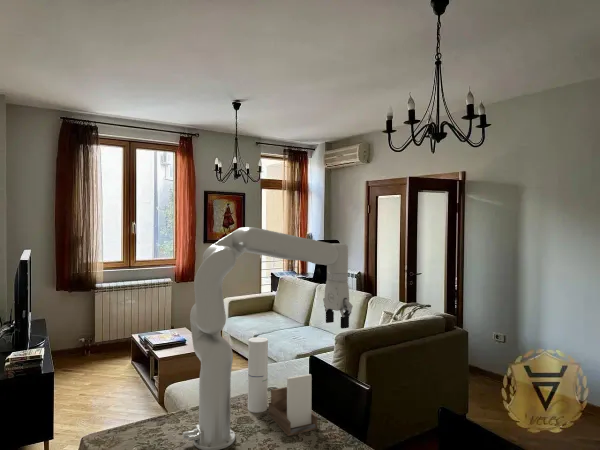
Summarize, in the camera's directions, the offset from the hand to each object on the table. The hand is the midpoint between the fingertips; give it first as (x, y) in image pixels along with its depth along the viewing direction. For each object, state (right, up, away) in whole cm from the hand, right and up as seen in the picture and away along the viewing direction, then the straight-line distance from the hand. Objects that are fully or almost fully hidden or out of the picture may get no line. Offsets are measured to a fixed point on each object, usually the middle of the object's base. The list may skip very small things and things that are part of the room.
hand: (337, 325), depth 144 cm
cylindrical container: (-29, -31, +2) cm, 43 cm away
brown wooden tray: (-16, -31, -8) cm, 36 cm away
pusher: (-14, -30, -13) cm, 35 cm away
